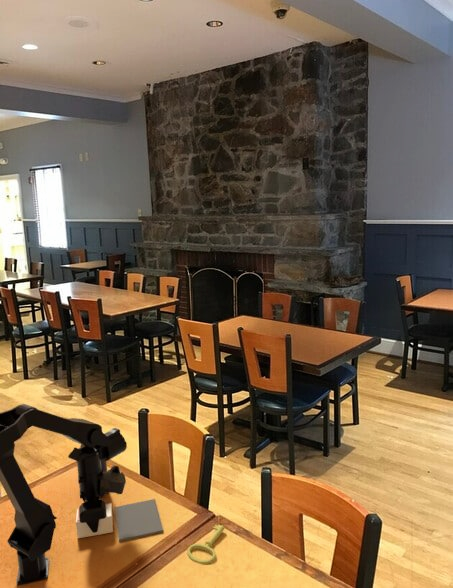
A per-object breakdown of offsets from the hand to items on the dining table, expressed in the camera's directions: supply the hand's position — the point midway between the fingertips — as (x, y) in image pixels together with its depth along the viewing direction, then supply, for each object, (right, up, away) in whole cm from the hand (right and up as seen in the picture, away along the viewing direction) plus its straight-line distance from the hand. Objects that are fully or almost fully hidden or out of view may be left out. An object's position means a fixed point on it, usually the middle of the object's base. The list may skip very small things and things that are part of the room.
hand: (94, 524), depth 125 cm
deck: (0, -1, 0) cm, 1 cm away
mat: (+11, 0, +3) cm, 11 cm away
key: (+30, -2, -8) cm, 31 cm away
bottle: (-4, +1, +17) cm, 17 cm away
